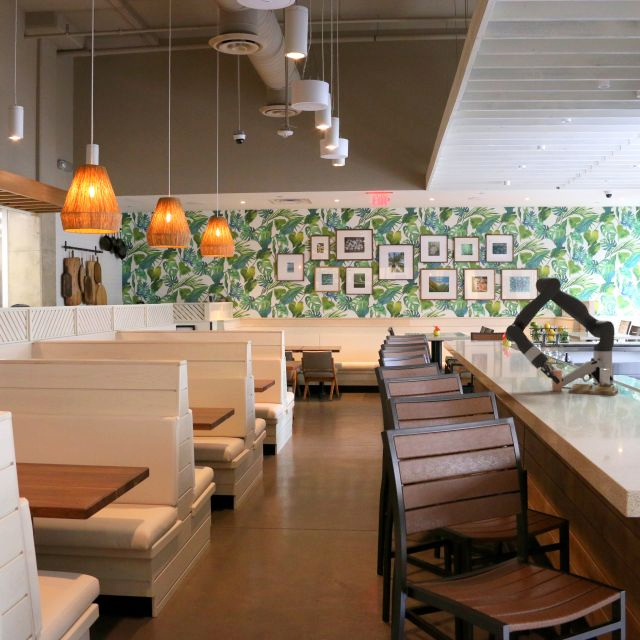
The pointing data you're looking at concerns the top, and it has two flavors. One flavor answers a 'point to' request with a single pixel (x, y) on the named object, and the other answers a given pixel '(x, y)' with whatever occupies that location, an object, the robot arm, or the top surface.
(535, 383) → the top surface
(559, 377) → the pin
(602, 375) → the pin
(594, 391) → the wooden compartment tray
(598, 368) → the handgun
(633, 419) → the top surface
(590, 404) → the top surface
